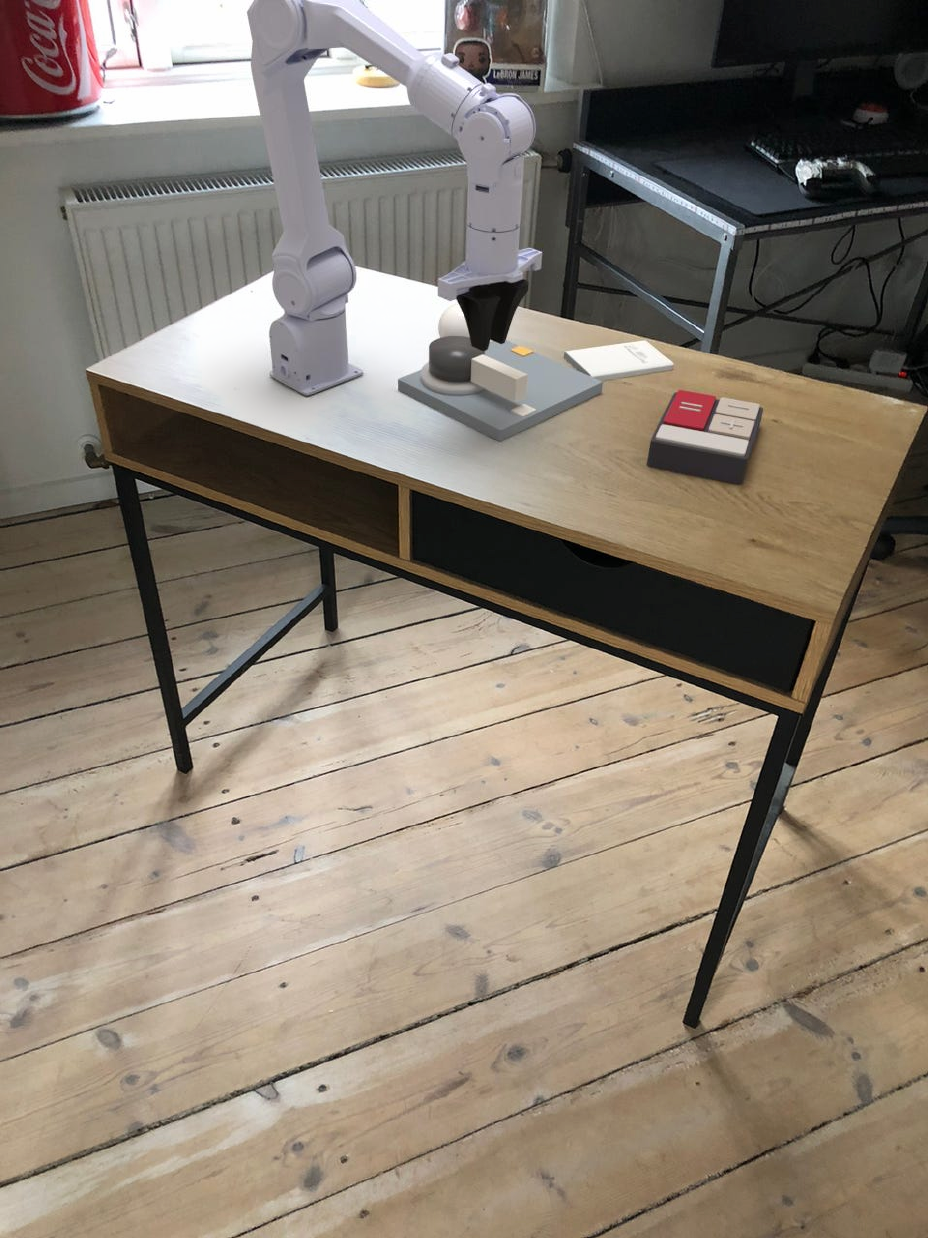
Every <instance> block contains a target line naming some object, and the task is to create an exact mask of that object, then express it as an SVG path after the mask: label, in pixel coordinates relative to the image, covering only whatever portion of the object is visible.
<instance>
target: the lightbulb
mask: <svg viewBox="0 0 928 1238" xmlns="http://www.w3.org/2000/svg"><path fill="white" fill-rule="evenodd" d="M438 321H439V322H438V328H437V329H438V336H439V338H442V337H446V336H465V337H470V336H469V332H468V328H467V324H466V321H465V317H464V315H463V312H462V310H461V308H460V305H459V304H458V303H455V304H453V305H450V306H449V307H447V308H446V309H445V310H444V311H443V313H442V314H441V316H440V318H439V320H438Z"/></svg>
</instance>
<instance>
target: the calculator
mask: <svg viewBox="0 0 928 1238" xmlns="http://www.w3.org/2000/svg"><path fill="white" fill-rule="evenodd" d="M763 412H764V408H763V407H761V405H760V404H759V403H756V402H752V401H750V402H749V401H745V400H741V399H740V400H738V399H736V398H735V399H734V398H729V397H724V396H723V397H721V398H720V399H718V398H717V396H715V395H713V394H711V395H710V394H706V393H702V392H696V391H689V390H684V389H678V390H677V391H676V392H674V393H673V395H672V396H671V398H670V400H669V402H668V404H667V406H666V409H665V410H664V412H663V415H662V417H661V419H660V420H659V422H658V425H657V426H656V428H655V430H654V433H653V434H652V437H651V438H650V442H649V448H648V455H647V461H646V467H648V468H652V469H657V470H660V471H665V472H666V471H667V472H671V473H675V474H681V475H686V476H690V477H694V478H695V477H696V478H701V479H705V480H710V481H716V482H720V483H724V484H725V483H726V484H729V485H735V486H742V485H743V484H744V481H745V476H746V473H747V470H748V466H749V462H750V460H751V456H752V453H753V451H754V450H753V449H754V447H755V446H754V445H755V444H756V443H755V442H756V439H757V436H758V433H759V429H760V425H761V420H762V418H763V417H762V416H763Z"/></svg>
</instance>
